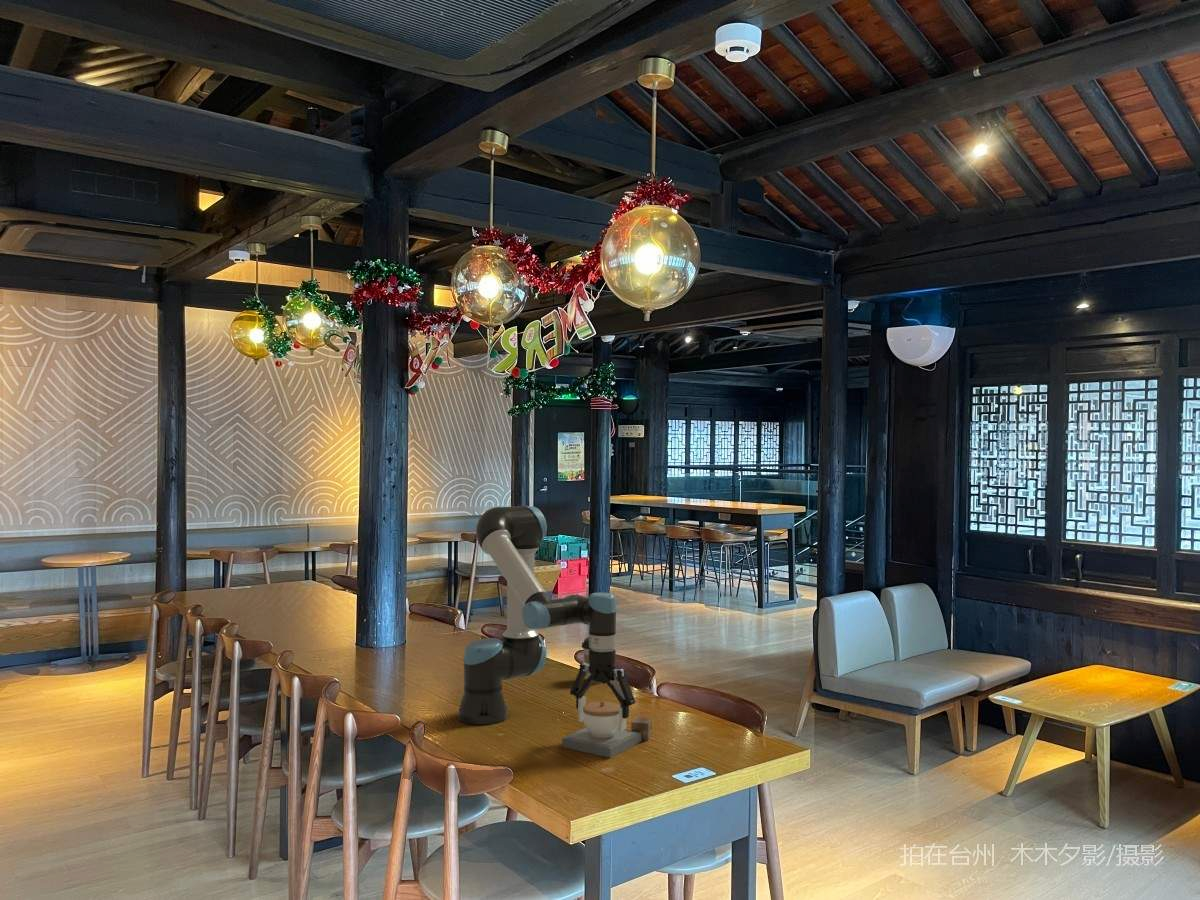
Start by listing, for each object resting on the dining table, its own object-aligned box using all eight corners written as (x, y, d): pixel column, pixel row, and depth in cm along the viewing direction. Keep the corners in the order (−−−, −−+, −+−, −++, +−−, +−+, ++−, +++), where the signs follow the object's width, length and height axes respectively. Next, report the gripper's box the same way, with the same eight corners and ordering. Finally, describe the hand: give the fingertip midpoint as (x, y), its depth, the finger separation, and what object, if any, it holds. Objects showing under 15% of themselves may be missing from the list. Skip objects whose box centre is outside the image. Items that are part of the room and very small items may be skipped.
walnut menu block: (631, 739, 239) (631, 722, 239) (634, 734, 244) (635, 716, 244) (648, 741, 238) (648, 723, 238) (651, 735, 243) (651, 718, 243)
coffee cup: (614, 677, 308) (614, 636, 308) (611, 685, 297) (611, 642, 297) (583, 676, 309) (583, 635, 309) (579, 684, 298) (579, 642, 298)
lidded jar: (588, 742, 228) (588, 707, 228) (578, 730, 239) (579, 697, 239) (626, 739, 231) (626, 704, 231) (615, 727, 241) (615, 694, 242)
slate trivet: (562, 746, 233) (562, 737, 233) (594, 731, 246) (594, 722, 246) (610, 758, 224) (610, 748, 224) (641, 741, 237) (641, 732, 237)
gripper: (558, 645, 239) (558, 720, 239) (633, 657, 225) (633, 736, 225) (573, 641, 245) (573, 714, 245) (647, 652, 231) (647, 729, 231)
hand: (601, 725), depth 235 cm, fingers open, 13 cm apart
